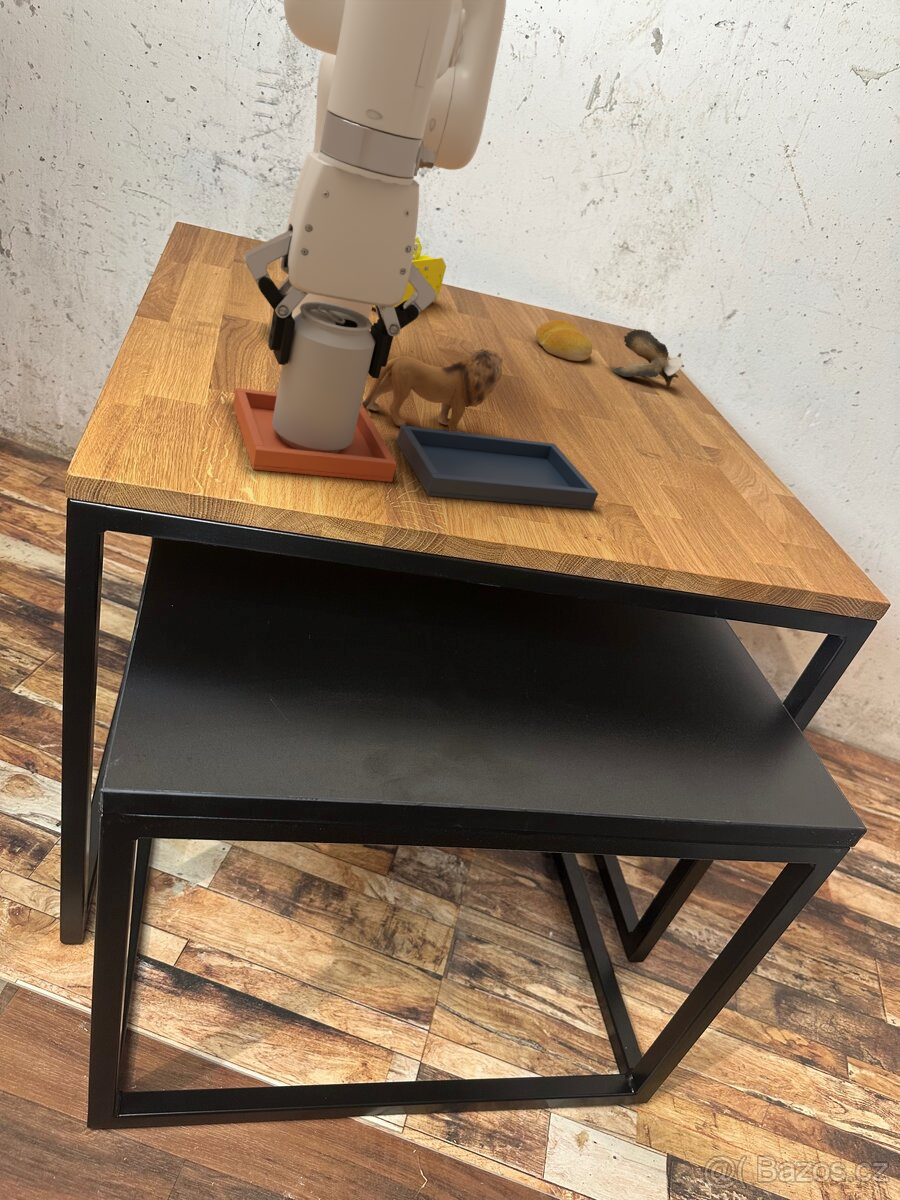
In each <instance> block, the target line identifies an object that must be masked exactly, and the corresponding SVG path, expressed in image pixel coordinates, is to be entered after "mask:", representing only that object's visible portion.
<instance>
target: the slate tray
mask: <svg viewBox="0 0 900 1200" xmlns="http://www.w3.org/2000/svg"><path fill="white" fill-rule="evenodd" d="M396 444H397V446H398V448H399V449H400V451H401V452H402V454H403V456H404V458H405V459H406V461H407V462H408V465H409V466H410V468H411V469H412V471H413V473H414V474H415V476H416V478H417V479H418V481H419V482H420V484H421V486H422V488H423V489H424V491H425V492H426V495H427V496H428V497H438V498H449V499H450V498H451V499H461V500H463V499H464V500H473V501H486V502H497V503H508V504H519V505H520V504H521V505H532V506H542V507H543V506H544V507H554V508H566V509H579V510H589V511H592V510H593V507H594V505H595V502H596V500H597V499H598V498H597V497H598V495H599V492H598V491H597V490H596V489H595V487H594V486H593V485H592V484H591V483H590V482H589V481H588V480H587V479H586V477H585V476H584V475H583V474H582V473H581V472H580V470H579V469H577V467H576V466H575V465H574V463H572V461H571V460H569V458H568V457H567V456H566V455H565V454H564V452H563V451H561V450H560V448H559V447H558V445H556V443H553V442H544V441H536V440H529V439H528V440H527V439H521V438H519V439H518V438H511V437H503V436H495V435H486V434H479V433H469V432H461V431H460V432H454V431H449V430H446V429H438V428H437V429H436V428H428V427H420V426H412V425H406V426H404V425H401V427H399V430H398V435H397V439H396Z"/></svg>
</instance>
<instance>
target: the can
mask: <svg viewBox="0 0 900 1200" xmlns="http://www.w3.org/2000/svg"><path fill="white" fill-rule="evenodd" d="M300 310H301V313H299V314H298V315H296V316H295V317H293V319H294V321H295V325H294V331H293V337H292V342H291V348H290V354H289V359H288V364H285V365H281V369H280V374H279V376H280V377H279V381H278V387H277V392H276V393H277V397H276V403H275V409H274V414H273V420H272V424H273V428H274V429H275V430H276V432H277V433H278V434H279V435H280V438H281V439H282V440H283V441H284V442H285V443H287V444H288V445H290V446H291V447H293V448H296V449H298V450H304V451H313V452H323V453H333V454H334V453H337V452H339V451H340V450H342V449H344V448H346V447H348V446H349V445H351V444H352V441H353V437H354V433H355V428H356V424H357V420H358V416H359V411H360V407H361V403H363V398H364V394H365V389H366V385H367V381H368V376H369V373H368V372H369V368H370V364H371V359H372V355H373V351H374V346H375V340H374V339H373V337H372V335H371V333H370V330H371V327H372V325H373V324H372V321H371V320H370V319H368V318H367V317H365V316H364V315H362V314H360V313H359V312H357V311H354V310H352V309H349V308H347V307H343V306H340V305H336V304H331V303H326V302H307V303H304V304H302V305H301V306H300Z"/></svg>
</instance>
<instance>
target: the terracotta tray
mask: <svg viewBox="0 0 900 1200" xmlns="http://www.w3.org/2000/svg"><path fill="white" fill-rule="evenodd" d="M276 397H277V392H274V391H265V390H256V389H249V388H242V387H235V389H234V397H233V403H232V407H233V410H234V415H235V417H236V421H237V423H238V426H239V429H240V432H241V436H242V439H243V442H244V445H245V448H246V449H245V450H246V452H247V455H248V459H249V462H250V464H251V467H252V470H255V471H267V472H277V473H289V474H300V475H310V476H321V477H332V478H343V479H355V480H364V481H375V482H387V483H392V482H393V480H394V476H395V471H396V468H397V462H396V459H395V458H394V457H393V455H392V453H391V452H390V450H389V448H388V446H387V444H386V443H385V441H384V440H383V437H382V435H381V434H380V432H379V430H378V429H377V426H375V423H374V421H373V420H372V418H371V416H370V414H369V412H368V411H367V409H366V408H364V406H363V404H361V407H360V411H359V416H358V420H357V424H356V428H355V433H354V437H353V441H352V444H351V445H349V446H348V447H346V448H344V449H342V450H340V451H339V452H337V453H334V454H333V453H323V452H313V451H304V450H298V449H296V448H293V447H291V446H290V445H288V444H287V443H285V442H284V441H283V440H282V439H281V438H280V435H279V434H278V433H277V432H276V430H275V429H274V428H273V424H272V420H273V414H274V409H275V403H276Z"/></svg>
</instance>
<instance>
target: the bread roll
mask: <svg viewBox="0 0 900 1200" xmlns="http://www.w3.org/2000/svg"><path fill="white" fill-rule="evenodd" d="M535 337H536V341H537V343H538V344H539V345H540V346H541V347H542V348H543V349H544V350H545V351H546V352H547V353H548V354H551V355H553V356H555V357H559V358H561V359H563V360H567V361H572V362H583V361H586V360H587V359H590V356H591V354H592V352H593V345H592V344H593V343H592V341H591V340H590V339H589V338H588V337H587V336H585V335H584V334H582V333H581V330H579V329H578V327H576V326H575V325H574V324H573V323H572V322H570V321H567V320H564V319H553V320H549V321H547V322H544V323H543V324H541V325H540V326H539V327H538V328H537V329H536V331H535Z"/></svg>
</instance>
